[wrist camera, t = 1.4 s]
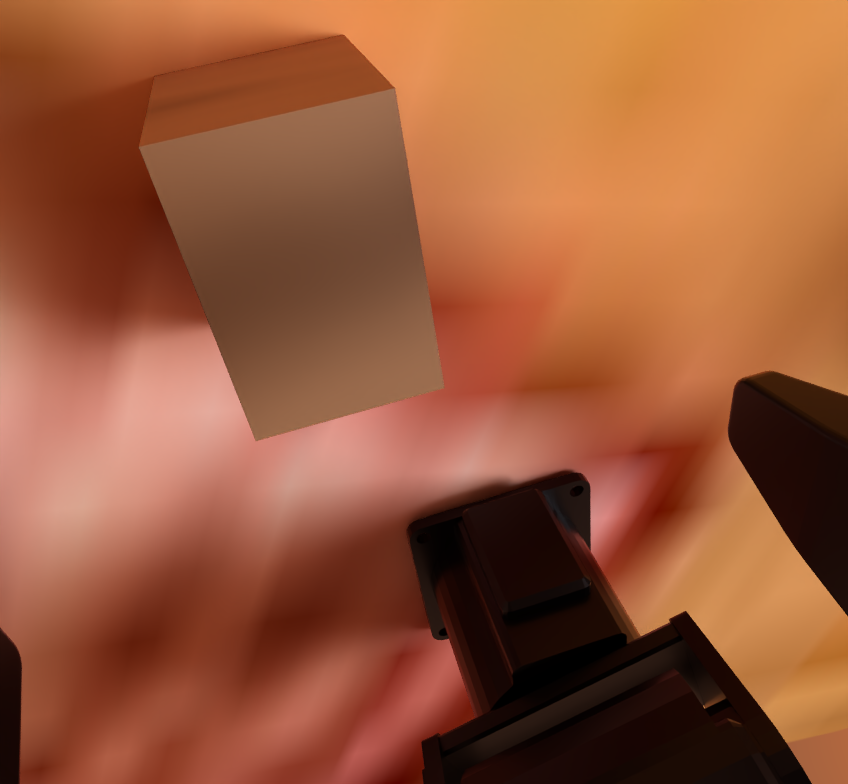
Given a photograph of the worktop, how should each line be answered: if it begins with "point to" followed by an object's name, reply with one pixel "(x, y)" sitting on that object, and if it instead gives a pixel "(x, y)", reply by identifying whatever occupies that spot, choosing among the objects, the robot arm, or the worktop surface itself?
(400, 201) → the block
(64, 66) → the worktop surface
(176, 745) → the worktop surface
